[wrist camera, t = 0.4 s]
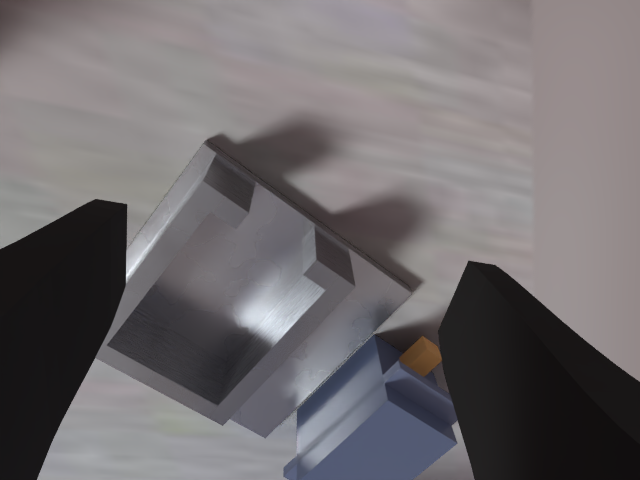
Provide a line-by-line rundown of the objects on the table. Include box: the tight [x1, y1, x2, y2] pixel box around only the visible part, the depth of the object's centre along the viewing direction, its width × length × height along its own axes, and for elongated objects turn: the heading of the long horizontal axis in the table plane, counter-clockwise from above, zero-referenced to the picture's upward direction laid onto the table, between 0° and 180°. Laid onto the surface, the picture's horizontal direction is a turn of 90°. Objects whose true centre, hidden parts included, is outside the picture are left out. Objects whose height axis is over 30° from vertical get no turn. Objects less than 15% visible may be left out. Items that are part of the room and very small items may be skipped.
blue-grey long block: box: [283, 335, 458, 480], centre depth 25 cm, size 9×4×4 cm, turn 141°
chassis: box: [95, 140, 412, 438], centre depth 23 cm, size 11×11×4 cm
